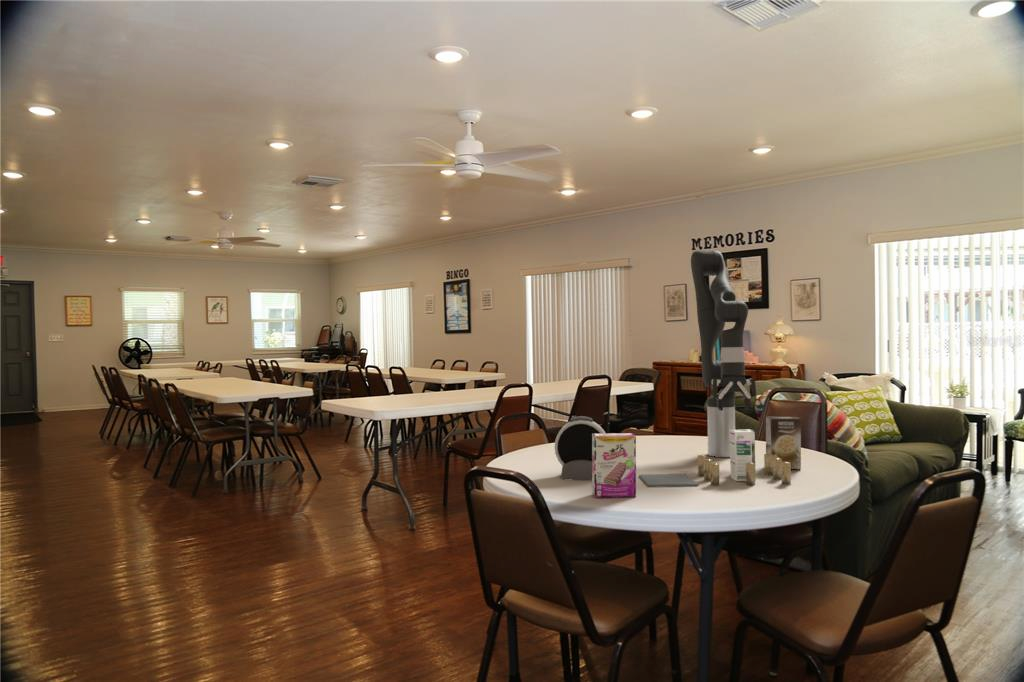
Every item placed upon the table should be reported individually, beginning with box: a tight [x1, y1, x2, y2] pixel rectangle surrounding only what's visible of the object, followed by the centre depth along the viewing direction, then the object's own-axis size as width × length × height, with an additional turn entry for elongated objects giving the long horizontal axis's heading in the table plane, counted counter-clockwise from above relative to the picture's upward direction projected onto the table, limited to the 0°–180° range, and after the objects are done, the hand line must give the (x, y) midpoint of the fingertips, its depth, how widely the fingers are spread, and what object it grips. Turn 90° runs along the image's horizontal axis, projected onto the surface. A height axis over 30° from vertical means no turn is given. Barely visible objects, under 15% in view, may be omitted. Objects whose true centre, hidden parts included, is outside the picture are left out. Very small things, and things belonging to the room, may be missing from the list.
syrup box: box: [729, 428, 757, 482], centre depth 196 cm, size 6×6×14 cm
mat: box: [638, 473, 699, 487], centre depth 196 cm, size 14×14×1 cm
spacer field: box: [697, 453, 792, 486], centre depth 196 cm, size 15×22×6 cm
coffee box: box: [765, 415, 802, 471], centre depth 212 cm, size 9×6×16 cm
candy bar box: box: [591, 432, 637, 499], centre depth 179 cm, size 11×5×16 cm, turn 92°
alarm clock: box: [554, 415, 607, 481], centre depth 204 cm, size 16×10×18 cm, turn 81°
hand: (733, 410), depth 222 cm, fingers open, 8 cm apart
